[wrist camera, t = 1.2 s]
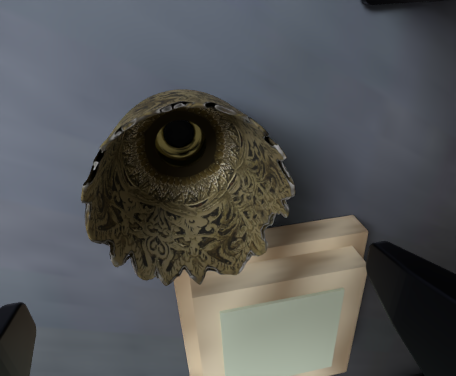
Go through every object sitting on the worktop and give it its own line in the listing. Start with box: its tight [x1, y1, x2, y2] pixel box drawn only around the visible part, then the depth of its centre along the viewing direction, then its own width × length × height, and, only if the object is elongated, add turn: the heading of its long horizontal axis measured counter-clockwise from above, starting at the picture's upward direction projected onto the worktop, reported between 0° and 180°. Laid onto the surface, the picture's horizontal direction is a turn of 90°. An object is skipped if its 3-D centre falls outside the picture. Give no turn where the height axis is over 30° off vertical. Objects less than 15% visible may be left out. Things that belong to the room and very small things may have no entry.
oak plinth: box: [174, 215, 368, 376], centre depth 25 cm, size 13×13×4 cm
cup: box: [81, 90, 296, 286], centre depth 15 cm, size 8×7×8 cm
